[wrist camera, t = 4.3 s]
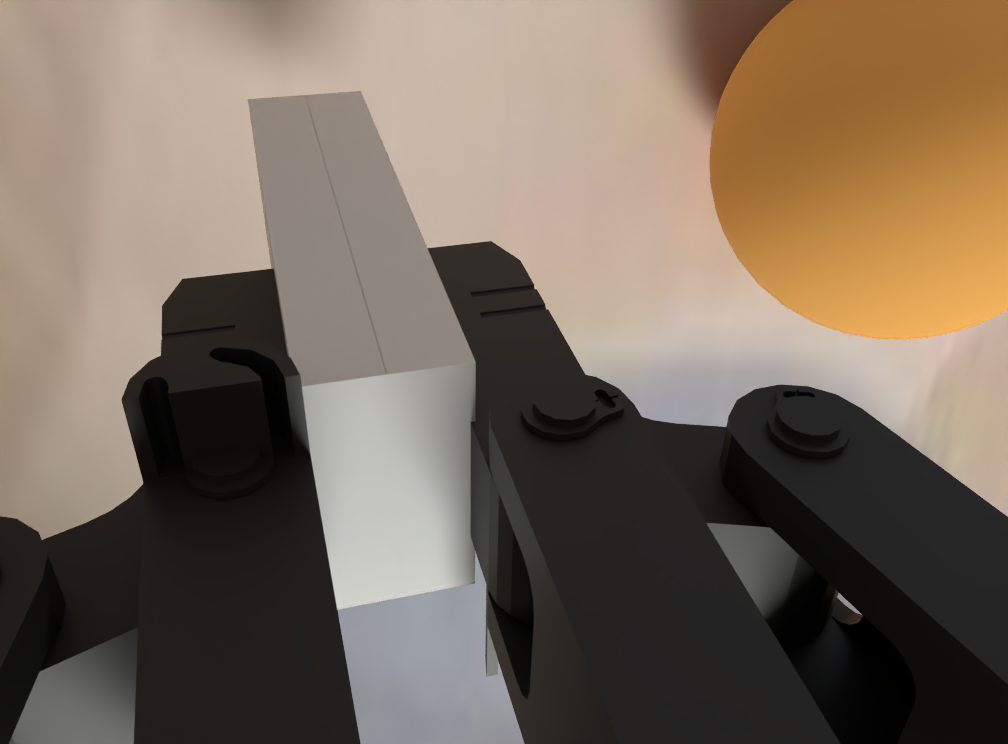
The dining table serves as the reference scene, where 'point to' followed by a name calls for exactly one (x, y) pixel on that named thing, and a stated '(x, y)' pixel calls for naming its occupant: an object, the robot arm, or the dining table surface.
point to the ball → (871, 163)
